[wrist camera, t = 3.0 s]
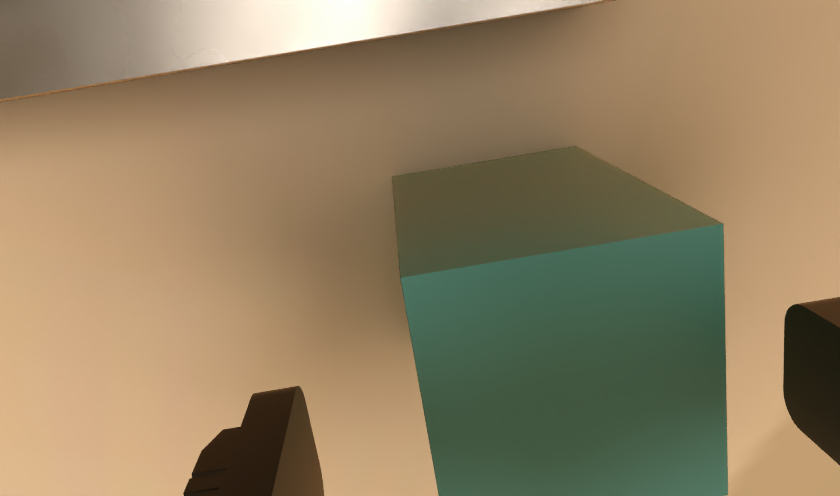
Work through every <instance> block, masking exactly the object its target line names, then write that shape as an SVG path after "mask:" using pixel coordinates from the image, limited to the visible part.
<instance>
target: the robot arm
mask: <svg viewBox="0 0 840 496" xmlns="http://www.w3.org/2000/svg"><path fill="white" fill-rule="evenodd" d="M783 391H784V399H785V403H786V407H787V409H788V412H789V414H790V416H791V418H792V420H793V421H794V423H795V424H796V426H797V427H798V428H799V429H800V430H801V431H802V432H803V433H804V434H806V435H807V436H808V437H809V438H810V439H811V440H812V441H813V442H814V443H816V444H817V445H818V446H819V447H820V448H821V449H822V450H823V451H824V452H825V453H827V454H828V455H829V456H830V457H831V458H832V459H833V460H834V461H836V462H837V463H838V464H839V465H840V297H837V298H831V299H825V300H819V301H813V302H807V303H801V304H795V305H792V306H791V307H790V308H789V309H788V310H787V313H786V316H785V326H784V384H783ZM183 494H184V496H324V490H323V480H322V473H321V468H320V463H319V459H318V454H317V450H316V446H315V441H314V437H313V432H312V428H311V424H310V419H309V415H308V410H307V406H306V402H305V398H304V394H303V392H302V389H301V388H300V387H299V386H296V387H290V388H284V389H278V390H272V391H266V392H260V393H254V394H253V395H252V397H251V399H250V402H249V405H248V408H247V411H246V413H245V416H244V419H243V422H242V425H241V427H236V428H230V429H224V430H222V431H221V432H220V433H219V434H218V435H217V436H216V437H215V438H214V439H213V440H212V441H211V442H210V443H209V444H208V445H207V446H206V447H205V448H204V449H203V450H202V451H201V454H200V456H199V458H198V461H197V463H196V465H195V468H194V470H193V472H192V478H191V479H189V482H188V484H187V486H186V489H185V491H184V493H183Z"/></svg>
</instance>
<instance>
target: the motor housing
mask: <svg viewBox="0 0 840 496" xmlns="http://www.w3.org/2000/svg"><path fill="white" fill-rule="evenodd" d="M609 1H614V0H0V102H2V101H8V100H14V99H20V98H26V97H32V96H38V95H45V94H51V93H57V92H63V91H69V90H75V89H81V88H87V87H93V86H99V85H105V84H112V83H118V82H124V81H130V80H136V79H142V78H148V77H154V76H160V75H166V74H172V73H179V72H185V71H191V70H197V69H203V68H209V67H215V66H221V65H227V64H233V63H239V62H246V61H252V60H258V59H264V58H270V57H276V56H282V55H288V54H294V53H300V52H306V51H313V50H319V49H325V48H331V47H337V46H343V45H349V44H355V43H361V42H367V41H374V40H380V39H386V38H392V37H398V36H404V35H410V34H416V33H422V32H428V31H434V30H441V29H447V28H453V27H459V26H465V25H471V24H477V23H483V22H489V21H495V20H501V19H508V18H514V17H520V16H526V15H532V14H538V13H544V12H550V11H556V10H562V9H568V8H575V7H581V6H587V5H592V4H598V3H603V2H609Z"/></svg>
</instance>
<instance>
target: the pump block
mask: <svg viewBox="0 0 840 496" xmlns="http://www.w3.org/2000/svg"><path fill="white" fill-rule="evenodd" d="M392 184H393V196H394V208H395V220H396V232H397V244H398V256H399V268H400V279H401V284H402V290H403V296H404V301H405V307H406V313H407V318H408V324H409V330H410V335H411V341H412V347H413V352H414V358H415V364H416V369H417V375H418V381H419V386H420V392H421V398H422V403H423V409H424V415H425V420H426V426H427V432H428V437H429V443H430V449H431V454H432V460H433V466H434V471H435V477H436V483H437V488H438V494H439V496H725V495H728V467H727V410H726V352H725V294H724V236H723V223H721V222H719V221H717V220H715V219H713V218H711V217H709V216H707V215H706V214H704V213H702V212H700V211H698V210H696V209H694V208H692V207H690V206H689V205H687V204H685V203H683V202H681V201H679V200H677V199H675V198H673V197H671V196H670V195H668V194H666V193H664V192H662V191H660V190H658V189H656V188H654V187H652V186H651V185H649V184H647V183H645V182H643V181H641V180H639V179H637V178H635V177H633V176H632V175H630V174H628V173H626V172H624V171H622V170H620V169H618V168H616V167H614V166H613V165H611V164H609V163H607V162H605V161H603V160H601V159H599V158H597V157H595V156H594V155H592V154H590V153H588V152H586V151H584V150H582V149H580V148H578V147H576V146H574V147H568V148H562V149H556V150H550V151H544V152H538V153H532V154H526V155H520V156H514V157H508V158H502V159H496V160H490V161H484V162H478V163H472V164H466V165H460V166H454V167H448V168H442V169H436V170H430V171H424V172H417V173H411V174H405V175H399V176H393V177H392Z"/></svg>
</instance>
